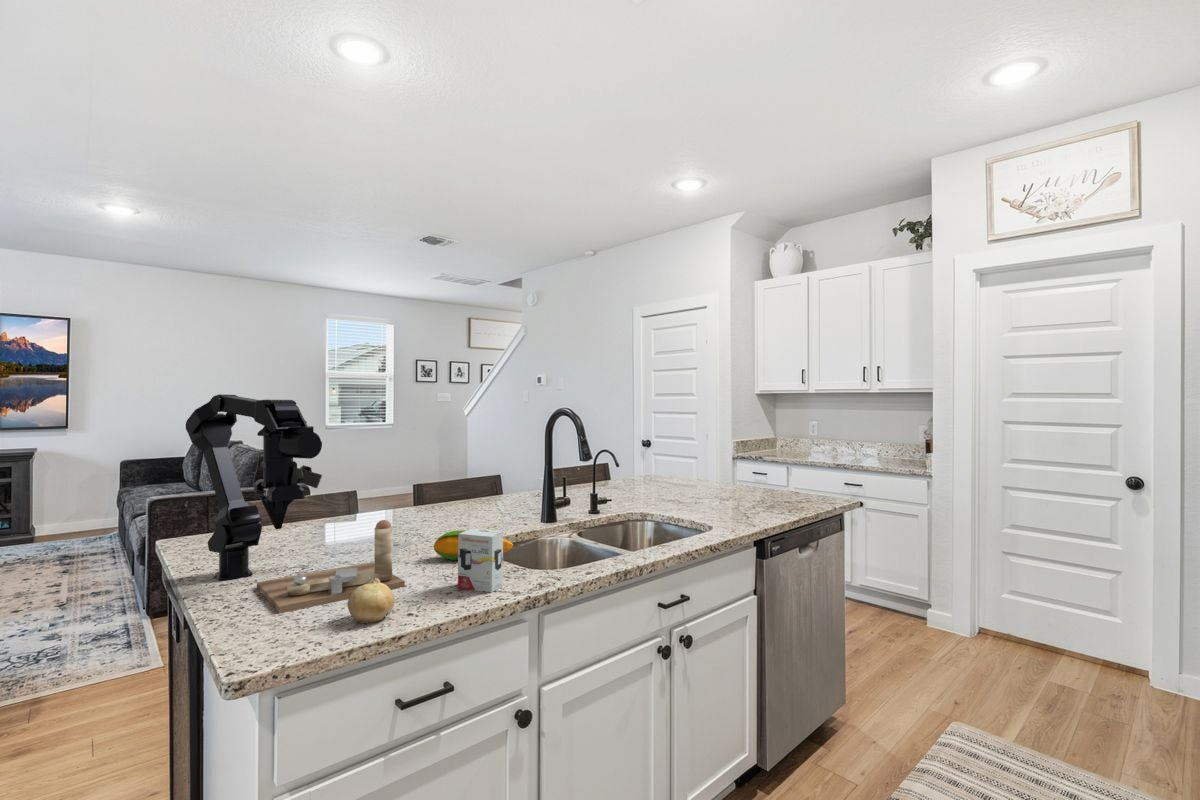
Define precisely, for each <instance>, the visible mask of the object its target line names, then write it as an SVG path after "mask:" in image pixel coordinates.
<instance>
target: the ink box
mask: <svg viewBox="0 0 1200 800" xmlns="http://www.w3.org/2000/svg"><path fill="white" fill-rule="evenodd" d="M466 530H467V531H465V532H462V533H459V534H458V560H457V589H461V590H468V591H475V590H476V592H477V591H478V592H483V591H485V592H484V593H493V592H495V591H497V590H498V589H500V588H502V587H503V586H504V583H503V582H504V568H503V567H504V566H503V565H504V553H503V538H504V532H502V531H501V530H491V529H480V528H469V529H466Z"/></svg>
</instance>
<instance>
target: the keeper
mask: <svg viewBox="0 0 1200 800" xmlns="http://www.w3.org/2000/svg"><path fill="white" fill-rule="evenodd" d="M351 581H357V568H349V569H339V570H337V571H336V575H335V576H331V577H329V594H331V595H335V594H340V593H342V582H351ZM305 582H306V576H297V577H294V584H302V583H305Z"/></svg>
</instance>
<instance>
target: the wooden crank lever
mask: <svg viewBox="0 0 1200 800" xmlns="http://www.w3.org/2000/svg"><path fill="white" fill-rule="evenodd" d="M392 541H393V526H392V523H391V522H390V521H389V520H387V519H381V520H380V521H378V522H377V523H376V525H375V527H374V563H373V564H374V571H372V572H366V573H359V574H357V581H351V582H342V587H347V586H353V585H360V584H366V583H369V582H370V581H371V580H369V578H368V577H370V578H371V579H374V578H378V579H379V580H380V581H387V580H390V579H392V574H393V559H392ZM328 589H329V578H325V579H319V580H312V581H306V582H305V583H302V584H294V583H291V584H289V585H288V595H303V594H307V593H310V592H315V591H322V590H328Z"/></svg>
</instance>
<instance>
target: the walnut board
mask: <svg viewBox="0 0 1200 800" xmlns="http://www.w3.org/2000/svg"><path fill="white" fill-rule="evenodd" d="M349 568H357V574H359V573H366V572H372V571H374V563H373V562H372V561H371V562H363V563H359V564H354V565H346V566H341V567H336V568H330V569H325V570H319V571H313V572H309V573H308V572H307V573H302V574H301V573H300V574H296V575H291V576H285V577H280V578H279V577H278V578H273V579H269V580H263V581H257V582H256V589H257V590H258V591H259V593H261V595H263V597H264V598H265V599H266V600H267V601H268V603H270V604H271V606H272V607H273V608H274V609H275V610H276V611H277V612H278V614H282V613H287V612H292V611H296V610H300V609H306V608H311V607H315V606H320V604H321V605H324V604H330V603H334V602H338V601H339V602H340V601H343V600H349V597H350V595H351V594H352V593H353V591H354V590H356V589H357V588H358V587H360V586H362V585H364V584H360V585H353V586H347V587H342V593H340V594H335V595H331V594H329V589H328V590H322V591H315V592H310V593H307V594H303V595H288V585H289V584H291V583H294V577H297V576H306V581H312V580H319V579H325V578H329V577H331V576H335V575H336V571H337V570H339V569H349ZM380 583H383V584H385V585H387V586H388V587H389V588H390V590H391V591H392V590H394V589H400V587H401V588H405V585H406V581H405V580H404V579H402V578H400V577H399V576H396V575H395V574H393V573H392V579H390V580H387V581H380ZM366 584H368V583H366Z"/></svg>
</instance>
